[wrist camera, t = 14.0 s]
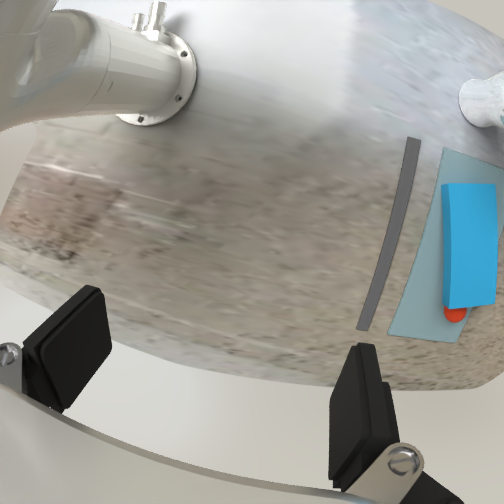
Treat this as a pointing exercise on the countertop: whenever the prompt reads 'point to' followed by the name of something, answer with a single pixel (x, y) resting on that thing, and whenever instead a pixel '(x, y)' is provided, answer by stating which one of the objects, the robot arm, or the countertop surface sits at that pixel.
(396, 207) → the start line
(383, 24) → the countertop surface
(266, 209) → the countertop surface
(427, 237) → the mat
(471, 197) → the lever
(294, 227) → the countertop surface
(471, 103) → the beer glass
